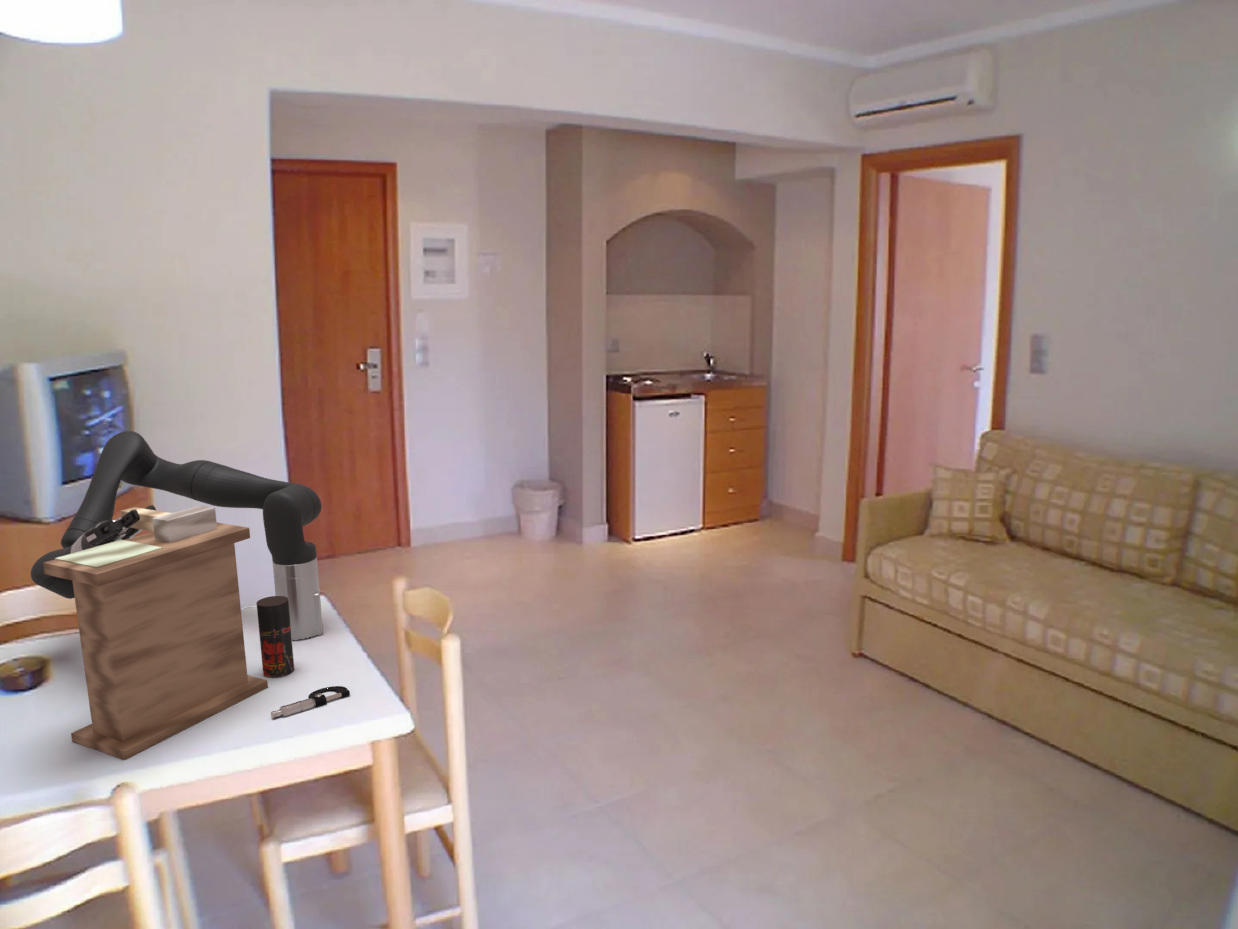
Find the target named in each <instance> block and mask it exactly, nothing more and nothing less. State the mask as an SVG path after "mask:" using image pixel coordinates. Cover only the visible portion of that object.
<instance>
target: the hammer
mask: <svg viewBox="0 0 1238 929" xmlns="http://www.w3.org/2000/svg"><path fill="white" fill-rule="evenodd" d="M134 509H136V510H137V512H138V515H139V517H140V520H139V521H137V522H136V523H135V524H133V525H132V526H131V527H130V528H136V529H142V530H143V531H146V532H147V531H149V532H154V536H155V540H158V541H164V542H169V543H170V542H174V541H177V540H181V539H184V538H187V537H191V536H194V535H197V534H201V533H204V532H208V531H211V530H214V529H217V523H218V521H217V515H216V508H215V507H210V506H206V505H205V506H204V505H197V506H194V507H190V508H186V509H183V510H179V511H175V512H167V511H160V510H157V509H156V510H149V509H145V508H143V507H137V506H136V507H135V506H134V507H129V508H126V509H121V510H120V517H123V516H124V515H126V514H127V513H128V512H130V511H131V510H134Z"/></svg>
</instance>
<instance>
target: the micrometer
mask: <svg viewBox="0 0 1238 929" xmlns="http://www.w3.org/2000/svg"><path fill="white" fill-rule="evenodd" d="M327 688H328V689H327ZM331 692H333V693H335V694H331V695H328V696H326V695H325V694H324V693H331ZM322 693H323V694H322ZM350 695H351V692H350V690H349V689H348V688H347V687H345V686H341V685H335V686H334V685H333V686H327V687H323V688H319V689H317V690H313V691H311V693H310V694H309V695H308V697H307V699H306V698H305V699H303V700H299V701H295V702H293V703H290V704H286V705H282V706H279V709H277V710H275V711H274V710H273V711H270V717H271V719H272V720H274V719H276V718H279V717H282V718H287V717H289V716H293V715H296V714H299V713H303V712H305V711H309V710H312V709H314V708H318V707H319V708H320V707H322V706H325V705H326V706H327V704H328V703H327V702H329V701H332V700H336V699H339V698H344V697H347V696H350Z"/></svg>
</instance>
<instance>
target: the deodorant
mask: <svg viewBox="0 0 1238 929" xmlns="http://www.w3.org/2000/svg"><path fill="white" fill-rule="evenodd" d="M256 613H257V623H258V624H257V625H258V633H259V634H258V635H259V643H260V644H259V645H260V653H261V654H260V655H261V664H262V665H261V666H262V675H263V676H264V677H266V678H268V679H275V678H277V679H278V678H283V677H286V676H288V675H289V676H290V675H291V674H292V673H293V672H294V671H295V663H294V662H295V660H294V651H293V649H294V648H293V640H292V637H291V625H290V614H289V602H288V598H287V597H284V596H276V595H272V596H267V597H263V598H261V599H259V600H257V602H256Z"/></svg>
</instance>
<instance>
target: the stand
mask: <svg viewBox="0 0 1238 929" xmlns="http://www.w3.org/2000/svg"><path fill="white" fill-rule="evenodd" d="M248 539H251V531H250V527H247V526H240V525H234V524H228V523H222V522H217V529H214V530H211V531H208V532H204V533H201V534H197V535H194V536H191V537H187V538H184V539H181V540H177V541H174V542H170V543H169V542H164V541H158V540H155V536H154V532H153V531H150V532H149V533H145V534H141V535H136V536H135V537H133V538H130V539H126V540H118V541H115V542H111V543H108V544H104V545H100V546H97V547H93V548H90V549H86V550H82V551H79V552H75V553H72V554H68V555H64V556H61V557H57V558H55V559H54V560H51V561H47V562H44V563H43V566H44V573H45V574H46V575H50V576H55V577H59V578H64V579H68V580H72V581H73V589H74V596H75V598H74V601H75V602H74V603H75V610H76V615H77V617H76V618H77V624H78V632H79V639H80V645H81V653H82V660H83V661H82V662H83V667H84V674H85V675H84V676H85V682H86V683H85V684H86V689H87V696H88V704H89V712H90V717H91V723H90V724H88V725H86V726H83V727H82V728H79V729H77V730H75V731H72V732H71V733H70V736H71V742H73V743H77V744H79V745H82V746H84V747H87V748H90V749H93V750H96V751H99V752H101V753H104V754H108V755H111V756H113V757H116V758H118V759H122V760H123V761H126V760H128V759H129V758H132V757H133V756H136V755H138V754H139V753H141V752H144V751H145V750H147V749H149V748H151V747H153V746H156V745H157V744H160V743H161V742H163V741H166V740H168V739H169V738H171V737H173V736H175V735H177V734H178V733H181V732H183V731H185V730H187V729H189V728H191V727H192V726H194V725H197V724H198V723H200V722H202V721H205V720H207V719H208V718H211V717H212V716H214V715H217V714H218V713H220V712H222V711H224V710H227V709H228V708H230V707H232V706H234V705H236V704H239V703H240V702H242V701H244V700H246V699H248V698H250V697H252V696H254V695H256V694H257V693H261V692H262V691H263V690H265V689H267V688H269V684H268V680H267V679H264V678H261V677H257V676H252V675H249V674H248V668H247V659H246V657H247V656H246V649H245V648H246V647H245V639H244V637H245V636H244V628H243V618H242V608H241V597H240V596H241V595H240V586H239V578H238V565H237V557H236V548H235V547H236V546H235V544H236V543H239V542H242V541H245V540H248Z"/></svg>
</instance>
